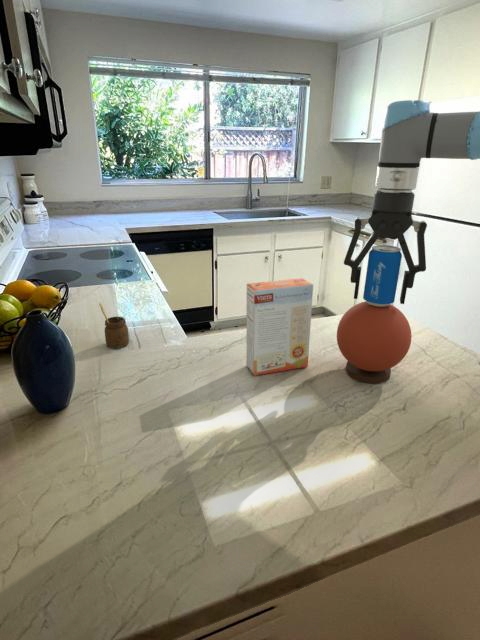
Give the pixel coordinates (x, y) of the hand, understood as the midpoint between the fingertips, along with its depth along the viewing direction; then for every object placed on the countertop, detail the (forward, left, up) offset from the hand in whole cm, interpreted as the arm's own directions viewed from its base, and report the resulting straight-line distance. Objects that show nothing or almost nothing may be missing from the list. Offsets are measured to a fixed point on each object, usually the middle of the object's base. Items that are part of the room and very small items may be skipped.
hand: (378, 299), depth 87 cm
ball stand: (0, 0, -18) cm, 18 cm away
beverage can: (0, 0, -1) cm, 1 cm away
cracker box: (+21, +4, -18) cm, 28 cm away
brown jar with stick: (+64, +6, -18) cm, 67 cm away
